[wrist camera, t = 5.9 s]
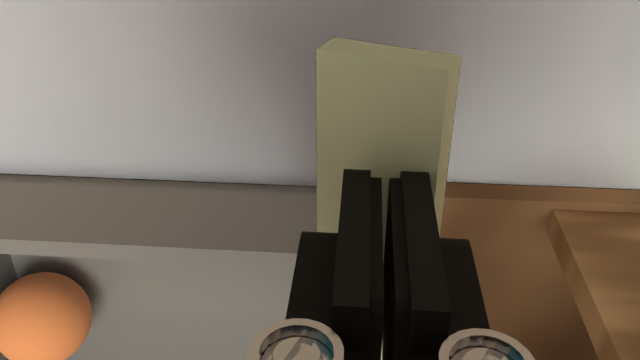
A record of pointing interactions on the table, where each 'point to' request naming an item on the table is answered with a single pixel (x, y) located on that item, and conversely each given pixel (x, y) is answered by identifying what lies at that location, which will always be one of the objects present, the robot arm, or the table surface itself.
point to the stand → (554, 265)
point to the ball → (43, 317)
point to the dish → (160, 258)
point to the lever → (381, 119)
